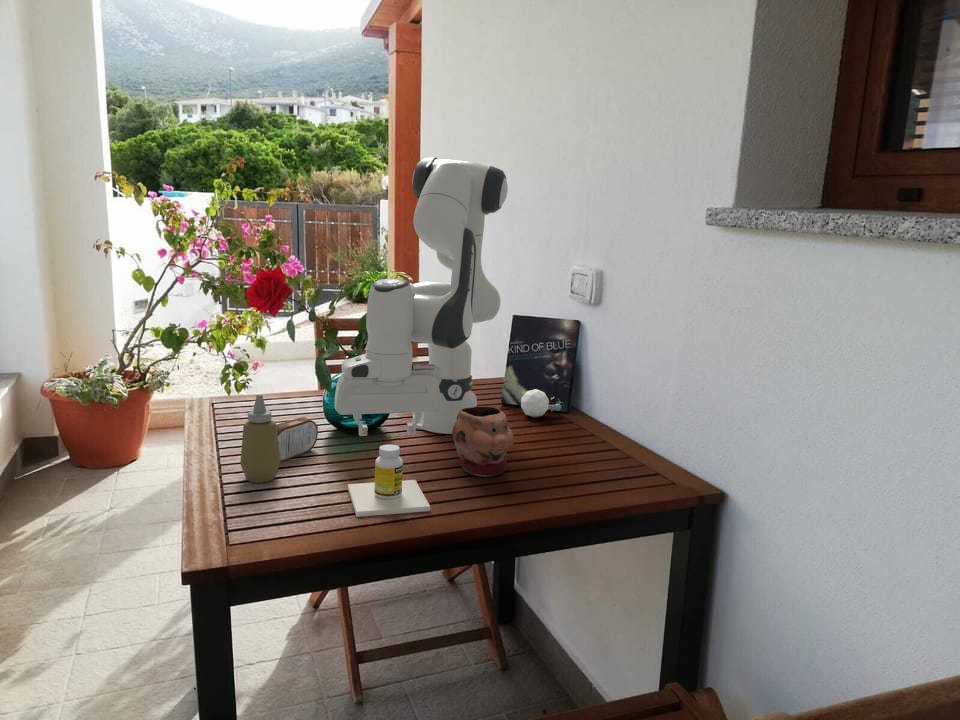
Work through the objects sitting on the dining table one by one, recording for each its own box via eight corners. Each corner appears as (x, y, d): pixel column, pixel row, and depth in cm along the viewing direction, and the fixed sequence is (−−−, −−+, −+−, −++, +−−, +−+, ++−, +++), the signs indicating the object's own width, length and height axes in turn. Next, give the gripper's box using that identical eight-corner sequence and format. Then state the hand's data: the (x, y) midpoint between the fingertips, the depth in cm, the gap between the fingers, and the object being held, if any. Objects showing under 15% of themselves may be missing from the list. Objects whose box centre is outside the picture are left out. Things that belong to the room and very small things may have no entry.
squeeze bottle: (242, 487, 145) (240, 401, 141) (238, 473, 152) (236, 391, 148) (283, 483, 148) (282, 398, 144) (277, 469, 155) (276, 389, 152)
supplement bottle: (397, 501, 139) (398, 453, 137) (370, 498, 140) (371, 450, 138) (405, 491, 144) (406, 444, 142) (379, 488, 145) (380, 441, 143)
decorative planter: (431, 459, 166) (433, 401, 163) (473, 451, 173) (476, 395, 170) (483, 487, 150) (486, 424, 148) (527, 477, 158) (531, 416, 155)
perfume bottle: (515, 399, 210) (553, 403, 213) (518, 421, 204) (558, 425, 207) (523, 382, 204) (563, 386, 207) (527, 404, 199) (567, 409, 202)
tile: (347, 488, 147) (347, 484, 146) (415, 484, 151) (415, 479, 150) (356, 516, 133) (356, 511, 133) (429, 511, 138) (430, 506, 137)
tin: (310, 446, 171) (310, 412, 170) (320, 449, 170) (320, 415, 168) (262, 464, 159) (262, 427, 157) (273, 467, 157) (272, 430, 155)
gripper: (438, 360, 143) (435, 426, 146) (333, 361, 137) (333, 430, 140) (445, 367, 137) (443, 436, 140) (336, 369, 131) (336, 441, 134)
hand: (387, 433), depth 140 cm, fingers open, 8 cm apart
